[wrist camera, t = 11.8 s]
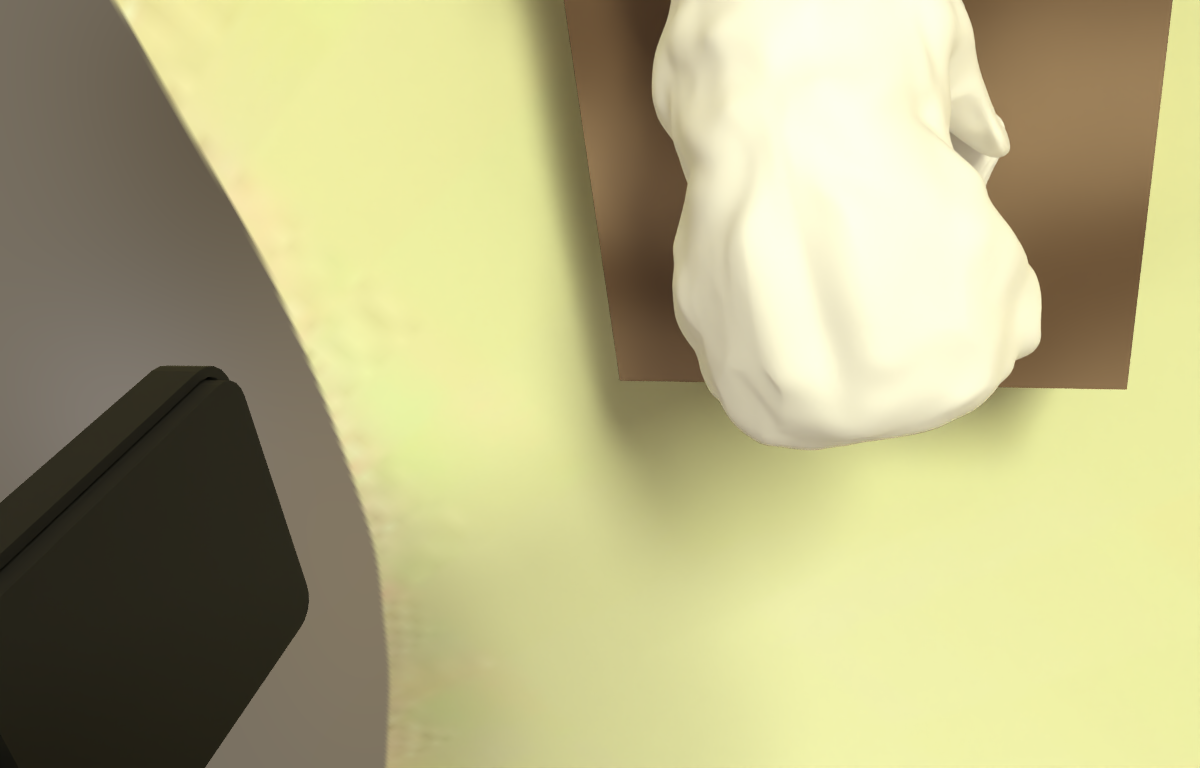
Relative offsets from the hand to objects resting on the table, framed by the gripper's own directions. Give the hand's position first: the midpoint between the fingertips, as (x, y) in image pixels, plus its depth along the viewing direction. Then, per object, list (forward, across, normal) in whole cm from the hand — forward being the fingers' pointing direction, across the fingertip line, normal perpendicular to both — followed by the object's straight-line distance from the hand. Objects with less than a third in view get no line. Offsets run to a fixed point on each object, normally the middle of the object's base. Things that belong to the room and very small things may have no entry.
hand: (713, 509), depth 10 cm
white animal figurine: (+16, 0, 0) cm, 16 cm away
